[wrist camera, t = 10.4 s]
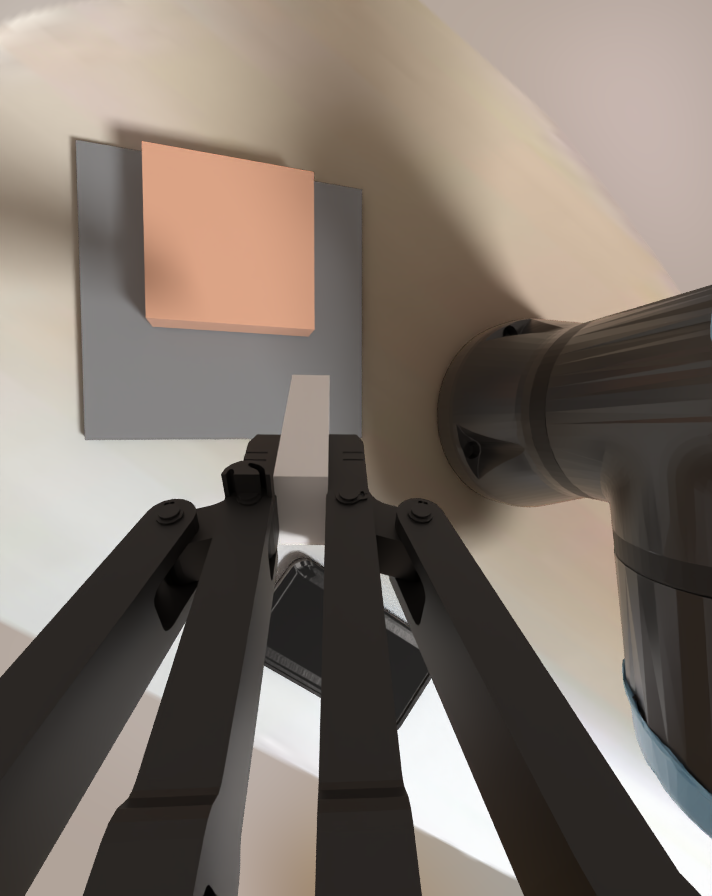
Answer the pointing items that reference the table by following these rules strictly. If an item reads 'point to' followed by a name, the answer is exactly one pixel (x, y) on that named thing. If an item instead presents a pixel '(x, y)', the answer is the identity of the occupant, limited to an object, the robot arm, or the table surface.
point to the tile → (227, 243)
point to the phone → (302, 628)
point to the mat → (204, 351)
